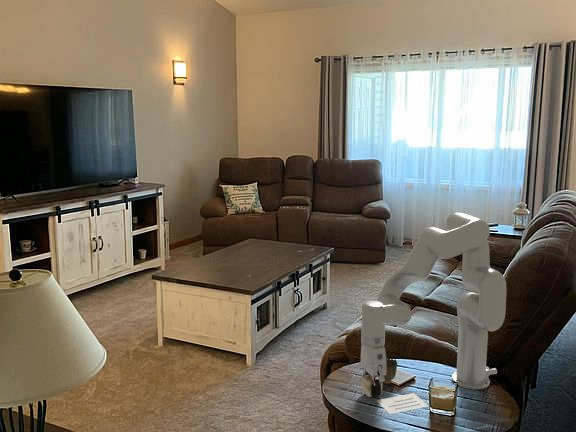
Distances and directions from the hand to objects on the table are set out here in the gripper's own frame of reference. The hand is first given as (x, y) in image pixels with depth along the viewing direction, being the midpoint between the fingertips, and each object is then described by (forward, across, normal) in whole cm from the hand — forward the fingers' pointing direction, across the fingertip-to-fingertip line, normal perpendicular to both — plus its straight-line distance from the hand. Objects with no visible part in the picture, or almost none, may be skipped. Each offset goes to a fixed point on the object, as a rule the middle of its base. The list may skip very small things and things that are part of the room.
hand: (371, 390), depth 190 cm
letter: (+2, -8, -7) cm, 10 cm away
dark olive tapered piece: (+2, +7, -9) cm, 12 cm away
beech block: (+1, 0, 0) cm, 1 cm away
